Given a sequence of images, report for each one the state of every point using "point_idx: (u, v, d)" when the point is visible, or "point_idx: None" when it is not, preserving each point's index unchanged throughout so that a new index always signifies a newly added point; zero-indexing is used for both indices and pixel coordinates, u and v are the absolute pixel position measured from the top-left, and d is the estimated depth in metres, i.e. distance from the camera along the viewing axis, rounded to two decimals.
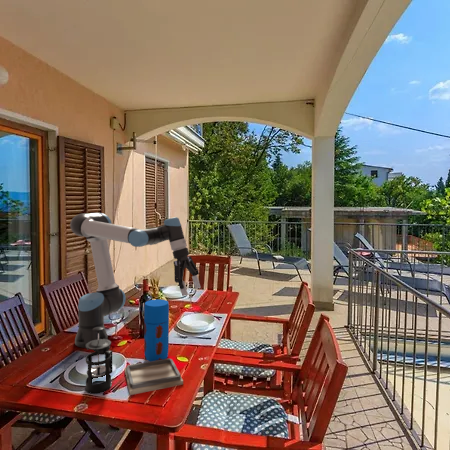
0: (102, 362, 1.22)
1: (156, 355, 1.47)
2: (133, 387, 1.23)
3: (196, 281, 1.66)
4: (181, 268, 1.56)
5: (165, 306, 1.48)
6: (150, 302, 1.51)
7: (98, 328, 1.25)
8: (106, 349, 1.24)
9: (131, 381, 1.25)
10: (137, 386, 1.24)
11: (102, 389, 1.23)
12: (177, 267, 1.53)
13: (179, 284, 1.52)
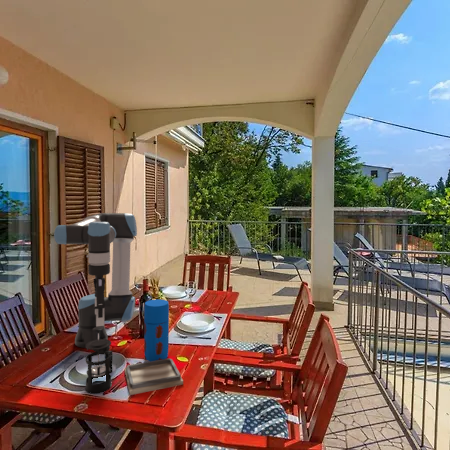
0: (102, 362, 1.22)
1: (156, 355, 1.47)
2: (133, 387, 1.23)
3: None
4: None
5: (165, 306, 1.48)
6: (150, 302, 1.51)
7: (98, 328, 1.25)
8: (106, 349, 1.24)
9: (131, 381, 1.25)
10: (137, 386, 1.24)
11: (102, 389, 1.23)
12: None
13: None
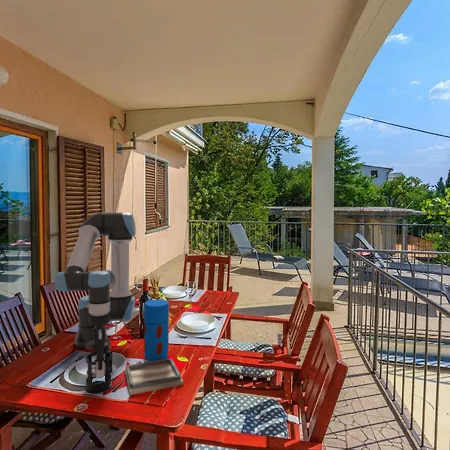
0: None
1: (156, 355, 1.47)
2: (133, 387, 1.23)
3: None
4: None
5: (165, 306, 1.48)
6: (150, 302, 1.51)
7: None
8: (106, 349, 1.24)
9: (131, 381, 1.25)
10: (137, 386, 1.24)
11: (102, 389, 1.23)
12: None
13: None
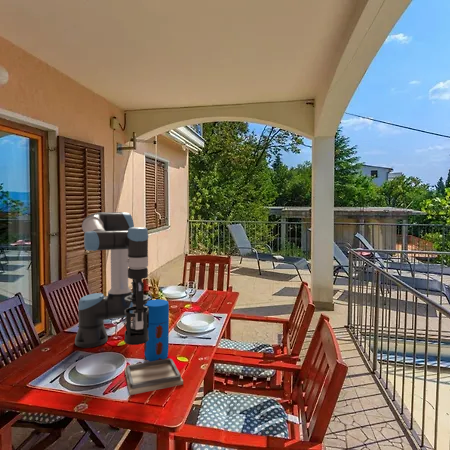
0: None
1: (156, 355, 1.47)
2: (133, 387, 1.23)
3: None
4: None
5: (165, 306, 1.48)
6: (150, 302, 1.51)
7: None
8: (144, 302, 1.27)
9: (131, 381, 1.25)
10: (137, 386, 1.24)
11: (141, 341, 1.27)
12: None
13: None
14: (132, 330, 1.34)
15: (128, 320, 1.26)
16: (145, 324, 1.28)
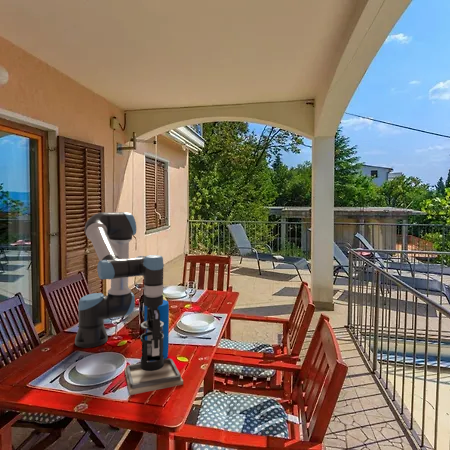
0: None
1: None
2: (133, 387, 1.23)
3: None
4: None
5: (165, 306, 1.48)
6: None
7: None
8: (160, 329, 1.31)
9: (131, 381, 1.25)
10: (137, 386, 1.24)
11: (157, 366, 1.30)
12: None
13: None
14: None
15: (145, 347, 1.29)
16: (161, 350, 1.31)
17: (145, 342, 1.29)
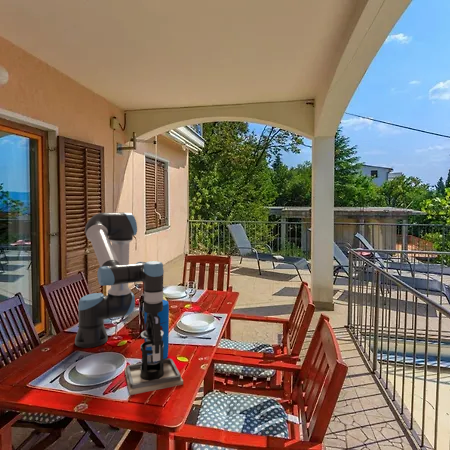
0: None
1: None
2: (133, 387, 1.23)
3: None
4: None
5: (165, 306, 1.48)
6: None
7: None
8: None
9: (131, 381, 1.25)
10: (137, 386, 1.24)
11: (157, 376, 1.30)
12: None
13: None
14: None
15: (144, 356, 1.29)
16: (161, 359, 1.31)
17: (145, 352, 1.29)
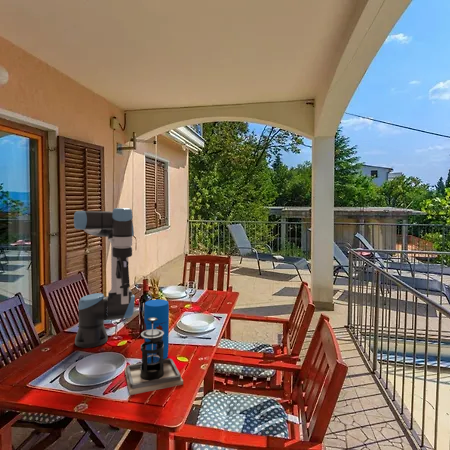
0: (157, 350, 1.29)
1: None
2: (133, 387, 1.23)
3: None
4: None
5: (165, 306, 1.48)
6: (150, 302, 1.51)
7: (152, 318, 1.32)
8: (160, 338, 1.31)
9: (131, 381, 1.25)
10: (137, 386, 1.24)
11: (157, 376, 1.30)
12: None
13: None
14: None
15: (145, 356, 1.29)
16: (161, 359, 1.31)
17: (145, 352, 1.29)
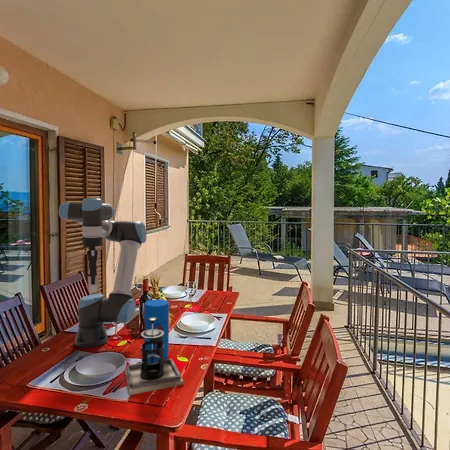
0: (157, 350, 1.29)
1: None
2: (133, 387, 1.23)
3: None
4: None
5: (165, 306, 1.48)
6: (150, 302, 1.51)
7: (152, 318, 1.32)
8: (160, 338, 1.31)
9: (131, 381, 1.25)
10: (137, 386, 1.24)
11: (157, 376, 1.30)
12: None
13: None
14: None
15: (145, 356, 1.29)
16: (161, 359, 1.31)
17: (145, 352, 1.29)
